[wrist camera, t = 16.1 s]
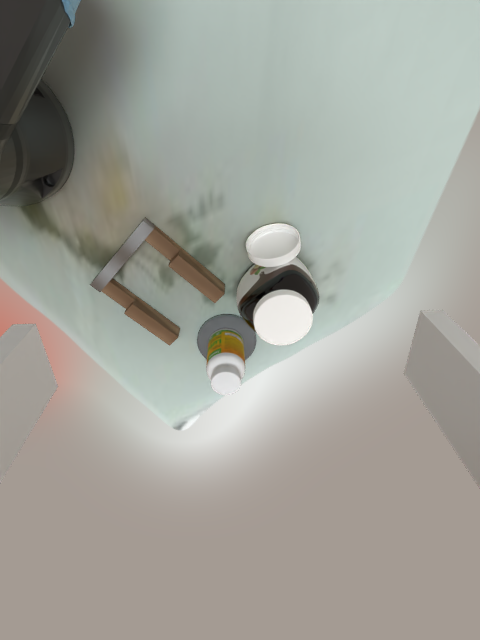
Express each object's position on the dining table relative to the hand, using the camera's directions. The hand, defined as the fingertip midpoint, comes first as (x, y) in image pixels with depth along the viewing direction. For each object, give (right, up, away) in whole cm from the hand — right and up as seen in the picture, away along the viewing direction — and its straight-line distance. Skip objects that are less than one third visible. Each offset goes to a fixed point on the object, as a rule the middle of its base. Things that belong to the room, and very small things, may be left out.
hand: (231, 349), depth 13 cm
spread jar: (+5, +9, +38) cm, 39 cm away
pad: (-2, -2, +44) cm, 44 cm away
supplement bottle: (-2, -2, +43) cm, 43 cm away
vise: (-11, +6, +38) cm, 41 cm away
